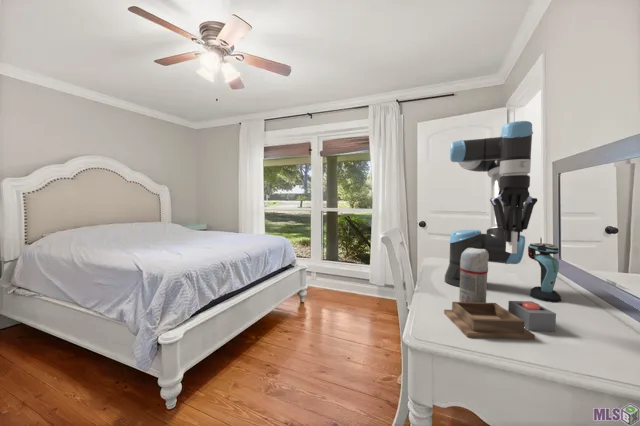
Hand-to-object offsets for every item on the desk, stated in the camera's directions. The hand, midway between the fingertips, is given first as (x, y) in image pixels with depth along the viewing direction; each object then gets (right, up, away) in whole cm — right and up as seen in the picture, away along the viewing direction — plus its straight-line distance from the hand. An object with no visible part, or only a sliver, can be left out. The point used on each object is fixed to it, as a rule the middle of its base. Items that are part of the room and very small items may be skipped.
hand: (511, 252), depth 83 cm
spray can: (-7, -20, +8) cm, 23 cm away
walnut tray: (-11, -20, -5) cm, 24 cm away
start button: (+3, -17, -4) cm, 18 cm away
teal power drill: (+25, -20, +19) cm, 37 cm away
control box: (+3, -20, -4) cm, 21 cm away
